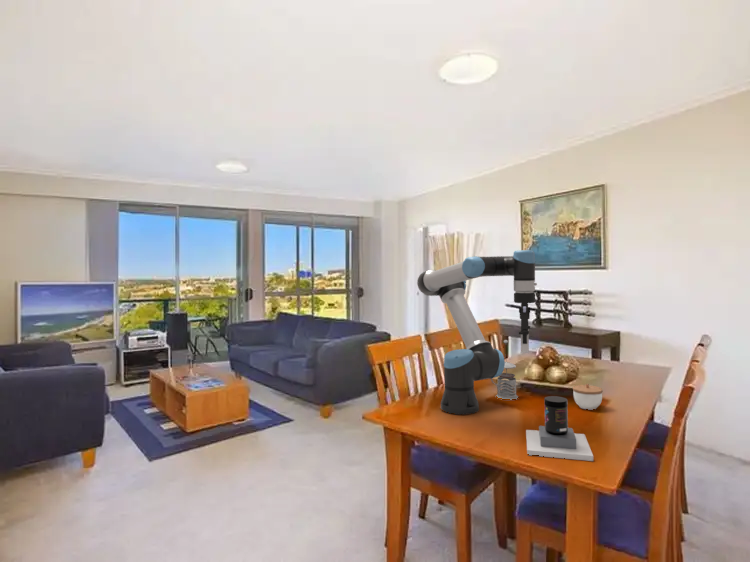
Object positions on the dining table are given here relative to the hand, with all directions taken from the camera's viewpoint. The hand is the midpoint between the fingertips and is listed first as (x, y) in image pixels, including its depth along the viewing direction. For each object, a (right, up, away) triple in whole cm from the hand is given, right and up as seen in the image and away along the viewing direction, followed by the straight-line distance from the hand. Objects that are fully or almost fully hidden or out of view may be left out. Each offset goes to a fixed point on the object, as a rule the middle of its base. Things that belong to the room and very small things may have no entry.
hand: (524, 349), depth 167 cm
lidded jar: (+29, -25, +12) cm, 40 cm away
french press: (+1, -26, +30) cm, 40 cm away
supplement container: (+1, -22, -26) cm, 34 cm away
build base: (+1, -27, -26) cm, 37 cm away
